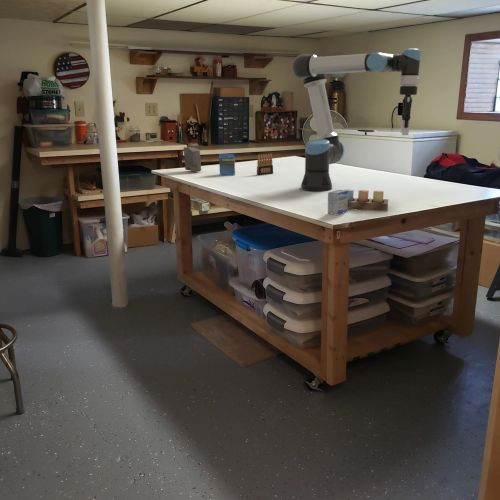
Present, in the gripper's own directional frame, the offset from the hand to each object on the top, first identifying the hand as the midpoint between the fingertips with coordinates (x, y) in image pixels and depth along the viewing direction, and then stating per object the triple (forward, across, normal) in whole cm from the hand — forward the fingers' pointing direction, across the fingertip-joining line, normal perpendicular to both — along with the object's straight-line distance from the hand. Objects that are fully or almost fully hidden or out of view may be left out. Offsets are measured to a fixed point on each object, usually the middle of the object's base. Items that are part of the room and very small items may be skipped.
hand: (404, 133), depth 239 cm
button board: (+27, -39, +16) cm, 50 cm away
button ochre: (+25, -40, +10) cm, 48 cm away
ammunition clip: (+29, +41, +74) cm, 89 cm away
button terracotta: (+25, -39, +16) cm, 50 cm away
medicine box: (+27, -50, +26) cm, 63 cm away
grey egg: (+25, -39, +22) cm, 52 cm away
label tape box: (+29, +36, +95) cm, 106 cm away
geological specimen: (+30, +43, +118) cm, 130 cm away
